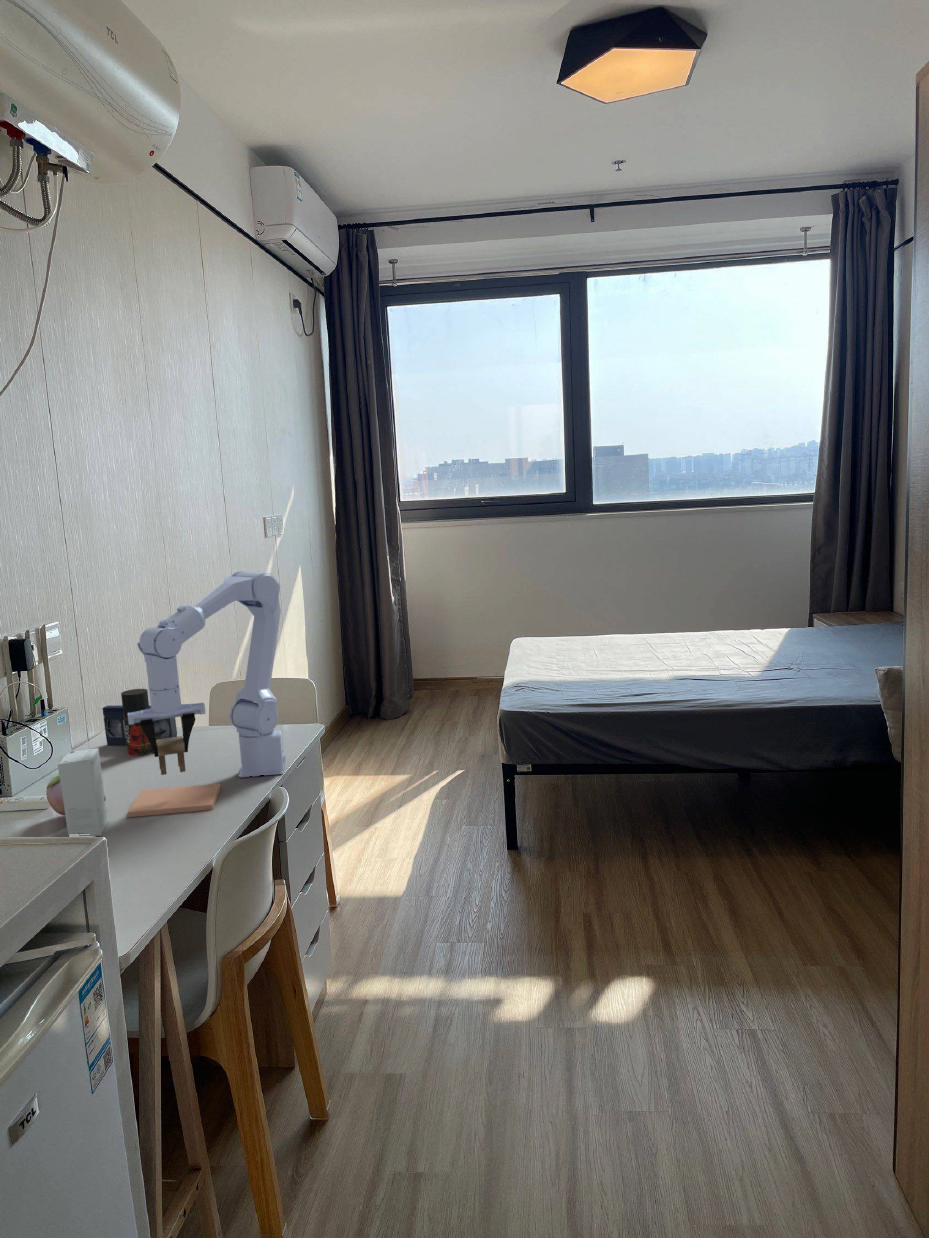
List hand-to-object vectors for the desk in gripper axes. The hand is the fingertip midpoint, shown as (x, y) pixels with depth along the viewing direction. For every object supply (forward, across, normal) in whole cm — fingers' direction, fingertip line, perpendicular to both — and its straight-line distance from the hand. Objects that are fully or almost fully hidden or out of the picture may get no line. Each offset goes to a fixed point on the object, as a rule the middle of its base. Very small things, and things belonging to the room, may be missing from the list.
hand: (171, 753), depth 174 cm
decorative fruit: (+10, +19, -2) cm, 22 cm away
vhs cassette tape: (+11, +4, -46) cm, 47 cm away
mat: (+10, 0, 0) cm, 10 cm away
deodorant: (+10, +5, -40) cm, 41 cm away
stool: (+4, 0, 0) cm, 4 cm away
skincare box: (+11, +16, +7) cm, 21 cm away
